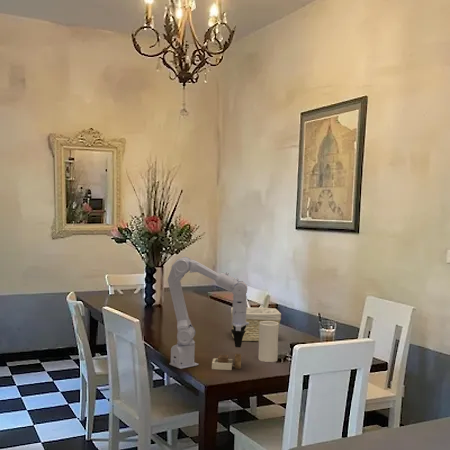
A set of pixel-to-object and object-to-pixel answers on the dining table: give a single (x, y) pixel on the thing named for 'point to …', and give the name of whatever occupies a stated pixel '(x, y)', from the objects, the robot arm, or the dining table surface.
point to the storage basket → (258, 321)
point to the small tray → (222, 364)
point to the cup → (268, 341)
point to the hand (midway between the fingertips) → (238, 344)
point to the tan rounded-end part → (225, 360)
